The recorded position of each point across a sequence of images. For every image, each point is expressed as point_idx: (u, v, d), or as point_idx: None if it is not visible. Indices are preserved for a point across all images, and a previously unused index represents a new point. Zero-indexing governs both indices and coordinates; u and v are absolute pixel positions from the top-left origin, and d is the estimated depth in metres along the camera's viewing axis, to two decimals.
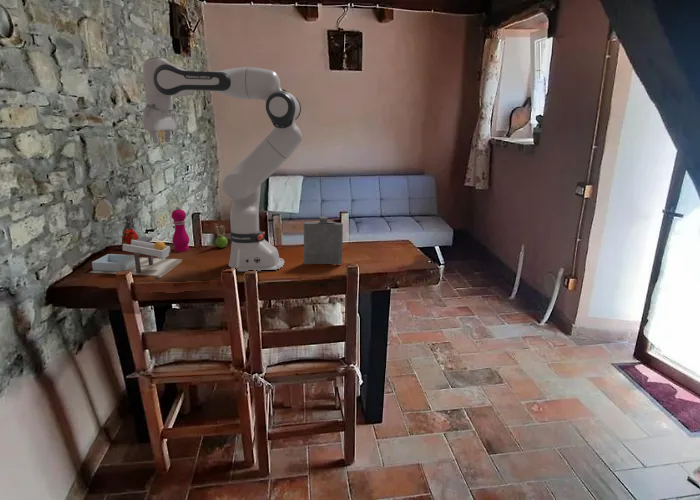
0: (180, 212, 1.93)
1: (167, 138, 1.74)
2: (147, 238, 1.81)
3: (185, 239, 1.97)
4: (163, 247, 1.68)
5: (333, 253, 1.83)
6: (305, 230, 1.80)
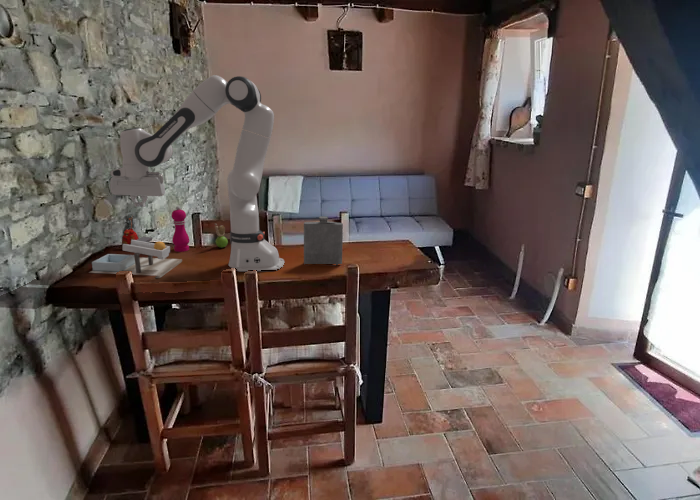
0: (180, 212, 1.93)
1: None
2: (147, 238, 1.81)
3: (185, 239, 1.97)
4: (163, 247, 1.68)
5: (333, 253, 1.83)
6: (305, 230, 1.80)
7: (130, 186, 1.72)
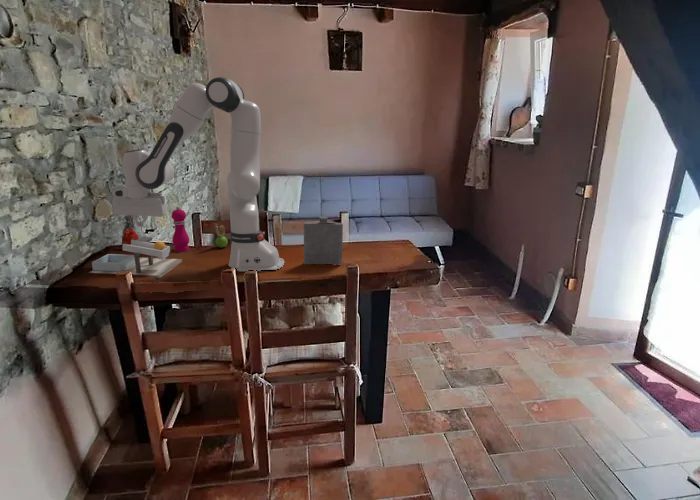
0: (180, 212, 1.93)
1: None
2: (147, 238, 1.81)
3: (185, 239, 1.97)
4: (163, 247, 1.68)
5: (333, 253, 1.83)
6: (305, 230, 1.80)
7: (132, 206, 1.74)
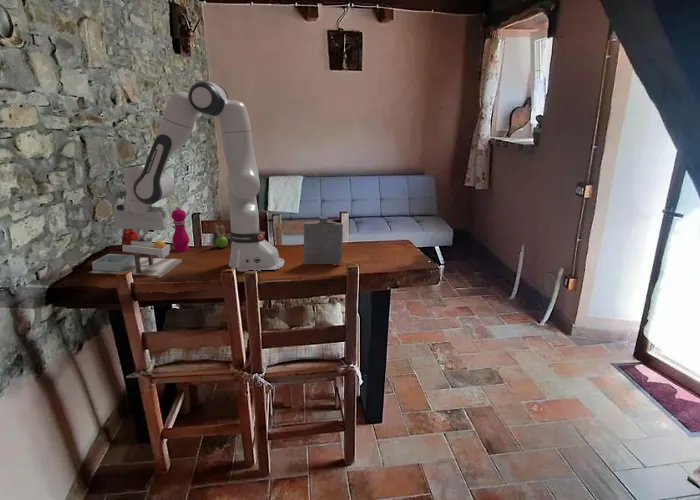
0: (180, 212, 1.93)
1: None
2: (147, 239, 1.81)
3: (185, 239, 1.97)
4: (163, 245, 1.68)
5: (333, 253, 1.83)
6: (305, 230, 1.80)
7: (133, 220, 1.75)
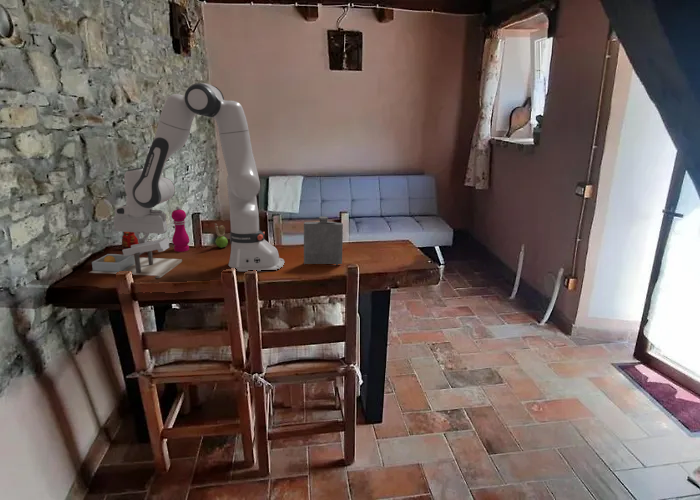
0: (180, 212, 1.93)
1: None
2: (147, 242, 1.81)
3: (185, 239, 1.97)
4: None
5: (333, 253, 1.83)
6: (305, 230, 1.80)
7: (134, 224, 1.76)
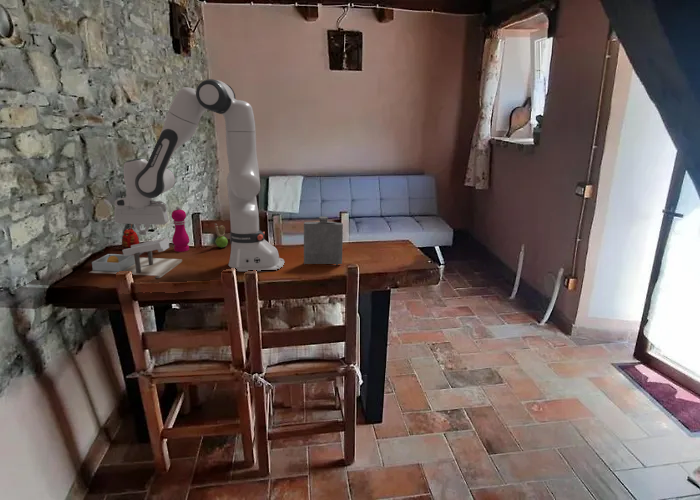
0: (180, 212, 1.93)
1: None
2: (147, 242, 1.81)
3: (185, 239, 1.97)
4: None
5: (333, 253, 1.83)
6: (305, 230, 1.80)
7: (134, 215, 1.75)
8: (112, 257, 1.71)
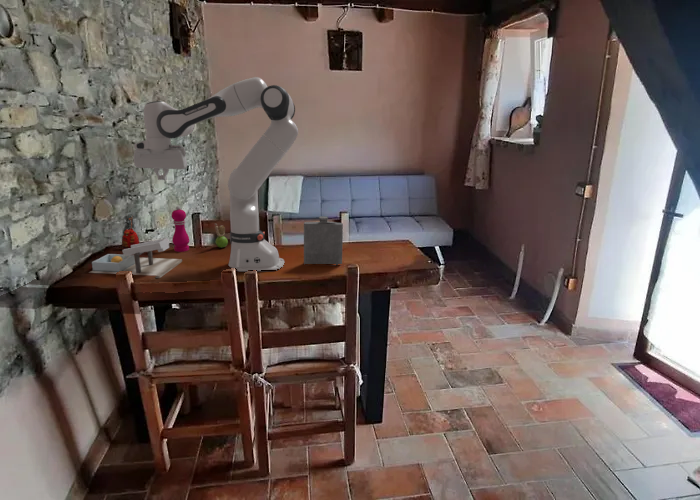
0: (180, 212, 1.93)
1: None
2: (147, 242, 1.81)
3: (185, 239, 1.97)
4: None
5: (333, 253, 1.83)
6: (305, 230, 1.80)
7: (153, 159, 1.75)
8: (119, 259, 1.71)
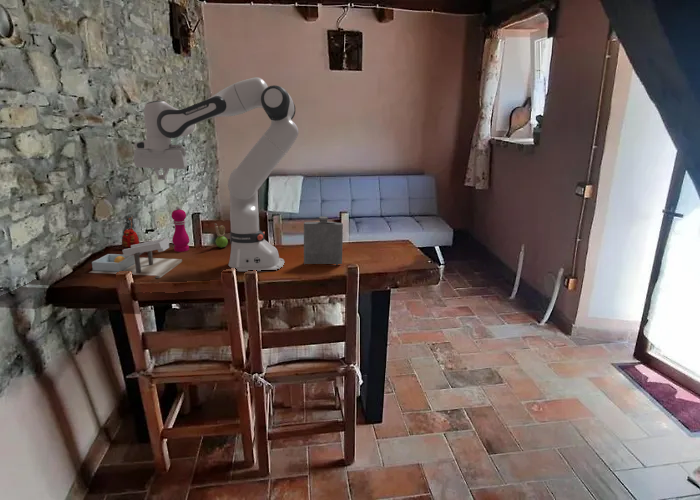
0: (180, 212, 1.93)
1: None
2: (147, 242, 1.81)
3: (185, 239, 1.97)
4: (114, 260, 1.71)
5: (333, 253, 1.83)
6: (305, 230, 1.80)
7: (153, 159, 1.75)
8: None
